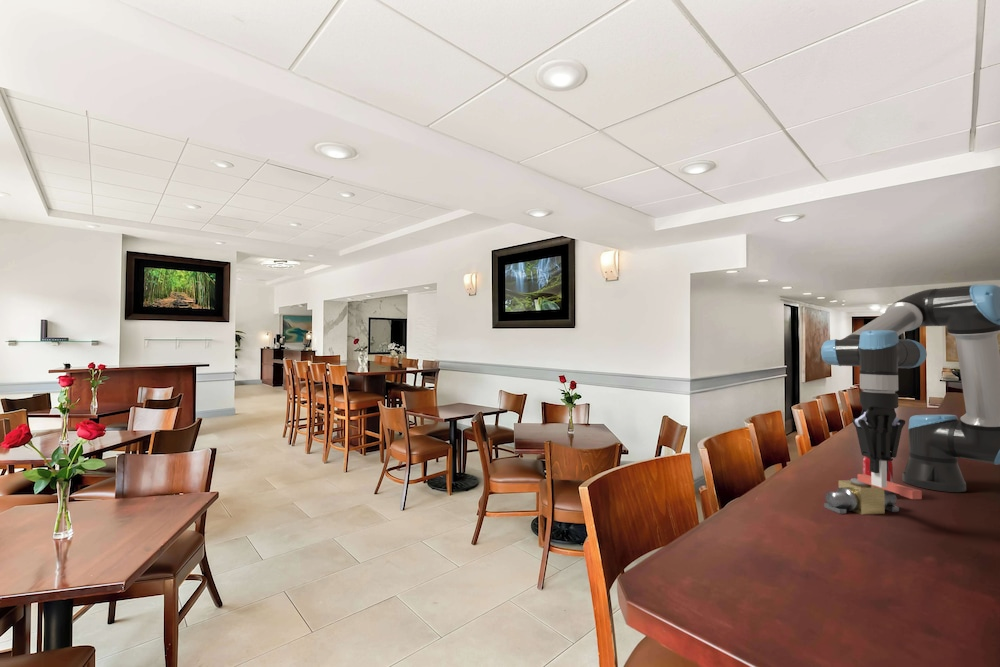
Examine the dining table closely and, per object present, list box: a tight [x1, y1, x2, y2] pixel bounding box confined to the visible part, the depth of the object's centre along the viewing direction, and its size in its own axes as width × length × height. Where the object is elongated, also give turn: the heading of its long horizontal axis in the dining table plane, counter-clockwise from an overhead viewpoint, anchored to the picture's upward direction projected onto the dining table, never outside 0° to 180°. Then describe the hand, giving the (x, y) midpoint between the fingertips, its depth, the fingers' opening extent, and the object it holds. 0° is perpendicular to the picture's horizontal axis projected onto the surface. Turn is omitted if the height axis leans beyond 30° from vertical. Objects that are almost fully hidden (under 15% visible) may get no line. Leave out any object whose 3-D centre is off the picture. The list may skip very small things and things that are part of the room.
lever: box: [850, 473, 923, 500], centre depth 119 cm, size 17×4×3 cm, turn 7°
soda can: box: [862, 456, 894, 490], centre depth 138 cm, size 7×7×12 cm
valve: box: [823, 479, 900, 515], centre depth 125 cm, size 18×7×7 cm, turn 97°
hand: (879, 485), depth 114 cm, fingers closed
